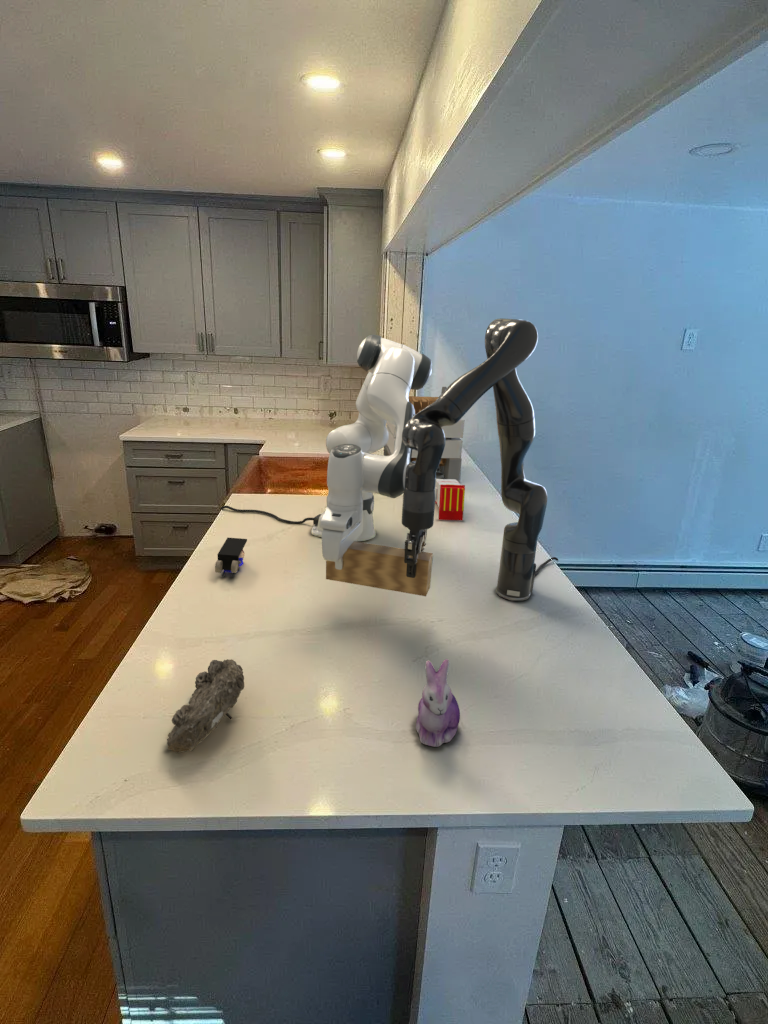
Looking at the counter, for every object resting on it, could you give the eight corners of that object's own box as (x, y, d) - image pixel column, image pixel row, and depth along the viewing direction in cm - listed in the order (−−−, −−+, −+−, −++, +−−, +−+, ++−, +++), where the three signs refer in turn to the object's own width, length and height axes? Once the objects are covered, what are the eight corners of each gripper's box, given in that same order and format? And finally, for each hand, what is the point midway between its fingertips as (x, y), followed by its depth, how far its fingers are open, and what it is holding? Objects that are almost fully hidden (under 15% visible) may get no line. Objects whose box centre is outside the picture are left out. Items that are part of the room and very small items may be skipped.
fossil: (192, 660, 117) (244, 628, 112) (224, 691, 120) (276, 661, 115) (142, 746, 98) (202, 712, 93) (182, 779, 101) (242, 748, 96)
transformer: (382, 463, 289) (386, 382, 275) (445, 464, 293) (451, 384, 279) (390, 482, 257) (394, 392, 243) (460, 483, 261) (468, 394, 247)
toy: (456, 474, 239) (469, 486, 210) (455, 506, 242) (467, 521, 213) (428, 474, 239) (436, 485, 210) (426, 505, 242) (435, 520, 212)
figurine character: (238, 584, 162) (249, 557, 175) (236, 562, 158) (247, 536, 172) (215, 584, 161) (227, 556, 175) (212, 561, 158) (225, 535, 171)
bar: (325, 579, 143) (326, 544, 140) (332, 571, 147) (333, 537, 144) (426, 596, 137) (428, 561, 133) (430, 587, 141) (432, 553, 138)
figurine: (430, 757, 101) (436, 686, 95) (402, 721, 109) (406, 654, 104) (473, 741, 105) (481, 672, 100) (443, 707, 113) (449, 643, 108)
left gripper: (346, 497, 148) (345, 546, 153) (316, 523, 130) (316, 578, 134) (369, 500, 147) (367, 549, 151) (342, 527, 128) (341, 582, 133)
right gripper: (428, 518, 125) (422, 586, 130) (440, 499, 138) (435, 561, 143) (395, 513, 127) (391, 581, 132) (410, 495, 140) (406, 557, 145)
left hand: (343, 563), depth 143 cm, fingers closed on bar, 5 cm apart
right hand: (414, 570), depth 138 cm, fingers open, 6 cm apart
